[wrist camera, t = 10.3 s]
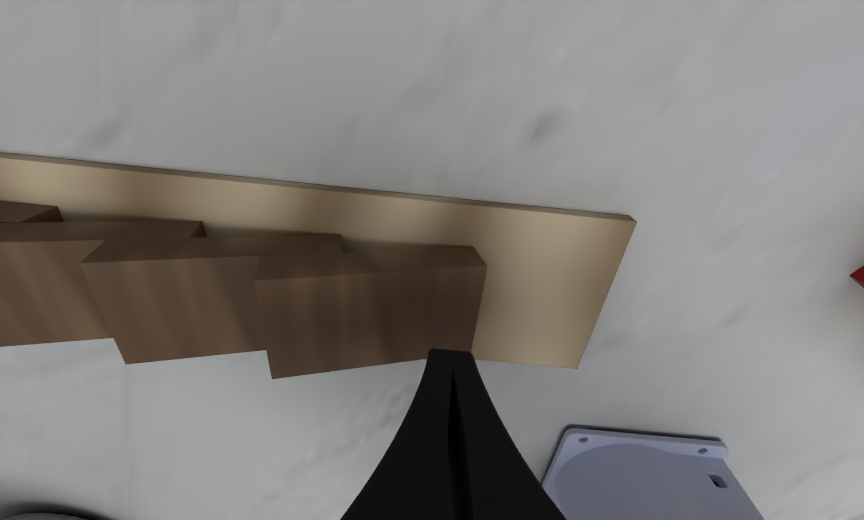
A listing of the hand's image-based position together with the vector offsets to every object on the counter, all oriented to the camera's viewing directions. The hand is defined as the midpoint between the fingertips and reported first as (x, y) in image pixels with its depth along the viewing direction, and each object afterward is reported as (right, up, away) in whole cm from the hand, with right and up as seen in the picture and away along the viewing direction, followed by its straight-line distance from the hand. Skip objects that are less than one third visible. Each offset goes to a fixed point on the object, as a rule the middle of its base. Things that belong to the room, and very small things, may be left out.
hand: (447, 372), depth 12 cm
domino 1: (-10, +3, +3) cm, 11 cm away
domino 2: (-4, +2, +3) cm, 6 cm away
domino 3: (+1, +2, +4) cm, 4 cm away
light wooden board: (-6, +3, +5) cm, 8 cm away
